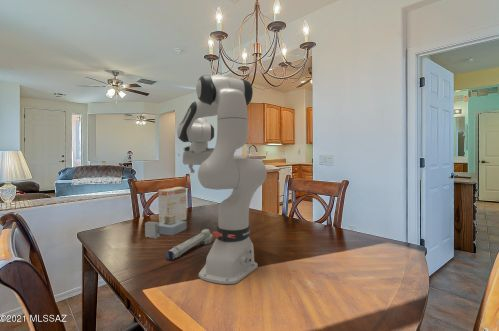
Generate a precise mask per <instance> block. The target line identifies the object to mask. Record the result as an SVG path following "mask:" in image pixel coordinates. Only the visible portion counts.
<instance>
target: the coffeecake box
mask: <svg viewBox="0 0 499 331" xmlns="http://www.w3.org/2000/svg"><path fill="white" fill-rule="evenodd" d="M157 196H158V222H159V223H160V222H162V221H165V216H167V215H175V220H178V221H185V220H186V221H187V188H186V187H183V186H176V187H168V188H162V189H158V193H157Z"/></svg>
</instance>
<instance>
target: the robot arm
mask: <svg viewBox="0 0 499 331" xmlns="http://www.w3.org/2000/svg"><path fill="white" fill-rule="evenodd" d="M195 88H196V89H195V91H196V95H197V100H195V101H193V102H192V103H191V104H190V105H189V107H188V109H187V111H186V113H185V115H184V117H183V119H182V120H181V122H180V123H179V125H178V127H177V132H176V133H177V138H178V139H179V140H180V141H181V142H183V143H189V142H191V144H190V145H187V146H185V147H183V153H182V163H183V165H187V166H188V168H189V170H190V174H195V169H194V165H195V166H199V167H198V170H197V179H198V182H199V184H200V185H201V186H202V187H203V188H205V189H209V190H216V191H217V190H219V191H220V190H221V191H222V190H232V191H231V194H230V195H229V196H228V197H227V198H225V199H224V200H222V201H221V202H220V204H219V206H218V208H217V210H218V214H217V215H218V217H217V218H218V222H217V223H218V225H217V226H216V230H215V231H213V232H212V238H215V240H214V242H213V243H212V245H211V248H210V250H209V252H208V254H207V255H206V260H205V264H204V266H203V267H202V269H201V270H200V271H199V273H198V278H200V279H201V280H203V281H206V282H209V283H213V284H220V285H221V284H223V285H235V284H237V283H239V282H241V280H243V279H244V278H246V277H247V276H248V275H250V274H251V273H252V272H253V271H255V270H256V269H257V268H258V267H259V265H258V262H256V261H255V250H254V249H255V248H254V243H253V242H252V240H251V238H250V235H251V233H250V232H251V229H250V225H249V217H250V216H249V214H250V204H251V201H252V198H253V196H254V194H255V192H256V191H257V190H258V189H259V188H260V187H261V186H262V185H263V184H264V183H265V181H266V180H267V176H268V175H267V173H268V171H267V168H266V165H265V164H264V162H263V161H262V160H259V159H255V158H250V157H249V158H248V157H247V158H234V156H235V153H236V151H238V149H241V148H242V147H244V146H245V145H246V144H247V142H248V141H249V118H248V117H249V115H248V107H247V106H248V105H249V104H250V103H251V102H252V98H253V93H254V92H253V89H254V88H253V86H252V84H251V82H250V81H248V80H246V79H242V78H235V77H230V76H227V75H222V74H213V75H211V74H206V75H205V74H204V75H201V76H200V77H199V78H198V79H197V83H196V87H195ZM215 116H217V117H216V118H217V119H216V120H217V121H216V123H217V124H216V126H217V128H216V129H217V130H216V141H215V146H214V147H212V148H211V147H209V146H208V145H209V142H211V141H212V140H213V139H214V138H215V128H214V126H213V125H212V124H211V123H208V121H207V119H206V118H207V117H215Z"/></svg>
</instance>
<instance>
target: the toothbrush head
mask: <svg viewBox="0 0 499 331" xmlns="http://www.w3.org/2000/svg"><path fill="white" fill-rule="evenodd" d="M212 241H213V234H212V233H211V230H210V229H209V228H205V229H202V230H201V232H200V233H199V234H196V235H195V236H193V237H191V238H189V239H187V240H185V241H184V242H181V243H179V244H177V245H174V246H173V247H172V248H171V249H169V250H168V251H167V252H166V253H165V254H166V258H167V259H168V260H169V259H170V261H174V260H176V259H177V258H180V257H181V256H182V255H183V254H184V253H186V252H187V251H189V250H190V249H192V248H193V247H194V246H196V245H198V244H199V243H200V244H201V245H209V244H212ZM175 258H176V259H175Z"/></svg>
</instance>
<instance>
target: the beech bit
mask: <svg viewBox="0 0 499 331" xmlns="http://www.w3.org/2000/svg"><path fill="white" fill-rule="evenodd" d="M165 224H167V225H172V224H175V215H167V216H165Z"/></svg>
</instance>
